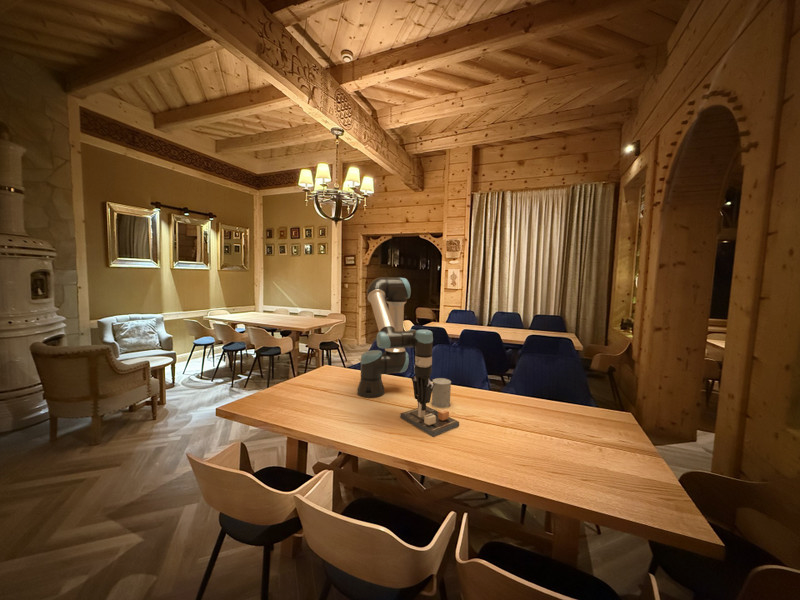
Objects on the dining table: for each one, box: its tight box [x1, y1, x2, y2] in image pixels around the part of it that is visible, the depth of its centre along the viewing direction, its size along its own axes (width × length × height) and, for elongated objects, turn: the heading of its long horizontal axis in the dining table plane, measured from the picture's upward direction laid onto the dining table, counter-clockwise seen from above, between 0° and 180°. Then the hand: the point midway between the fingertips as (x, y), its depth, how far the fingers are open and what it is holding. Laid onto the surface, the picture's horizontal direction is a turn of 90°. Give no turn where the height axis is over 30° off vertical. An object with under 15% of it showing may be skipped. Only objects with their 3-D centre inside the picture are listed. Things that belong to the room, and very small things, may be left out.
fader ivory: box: [424, 414, 436, 425], centre depth 140 cm, size 3×4×4 cm
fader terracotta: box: [438, 408, 450, 421], centre depth 145 cm, size 3×4×4 cm
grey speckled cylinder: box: [431, 377, 452, 409], centre depth 166 cm, size 10×10×12 cm
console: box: [399, 405, 460, 438], centre depth 146 cm, size 22×16×2 cm
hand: (421, 416), depth 144 cm, fingers closed
